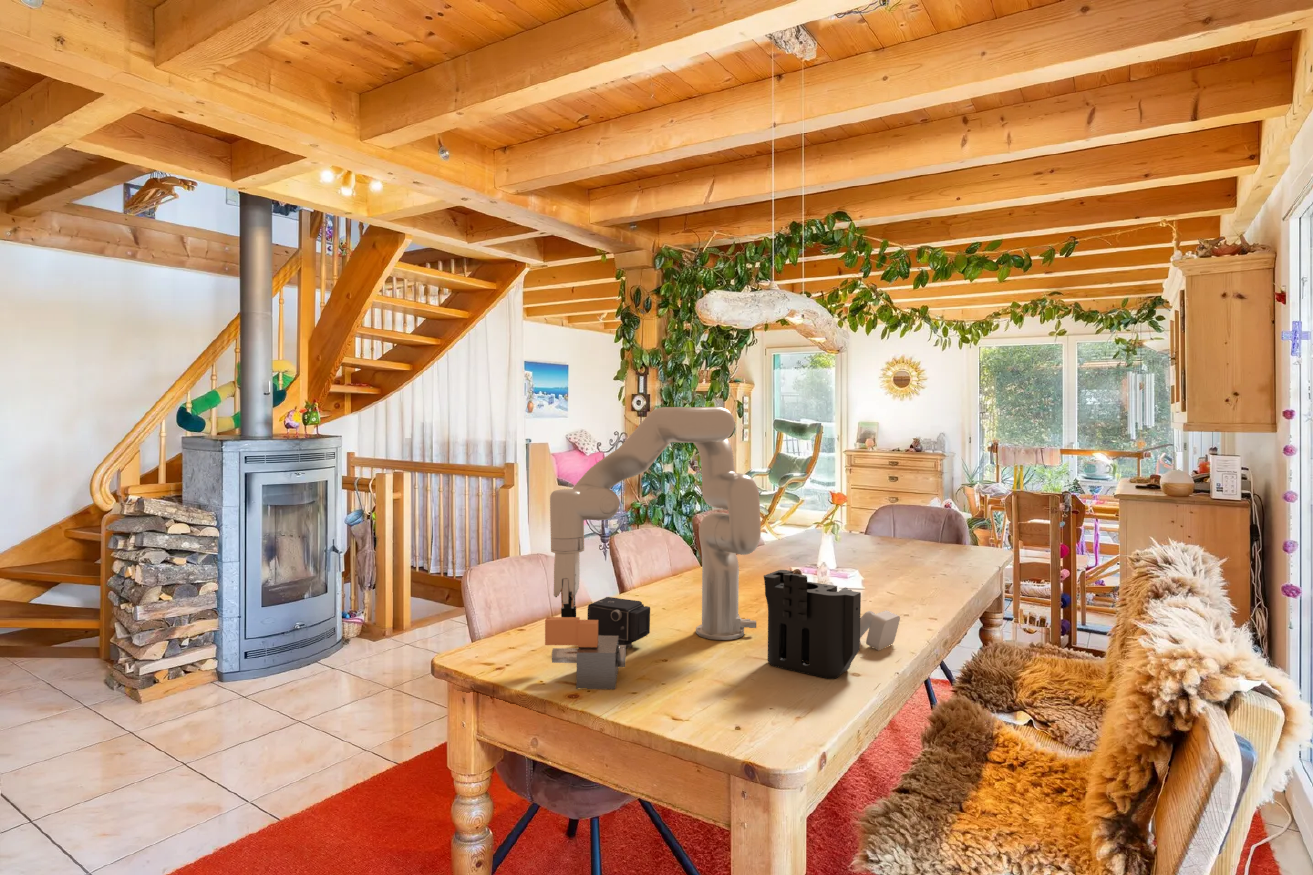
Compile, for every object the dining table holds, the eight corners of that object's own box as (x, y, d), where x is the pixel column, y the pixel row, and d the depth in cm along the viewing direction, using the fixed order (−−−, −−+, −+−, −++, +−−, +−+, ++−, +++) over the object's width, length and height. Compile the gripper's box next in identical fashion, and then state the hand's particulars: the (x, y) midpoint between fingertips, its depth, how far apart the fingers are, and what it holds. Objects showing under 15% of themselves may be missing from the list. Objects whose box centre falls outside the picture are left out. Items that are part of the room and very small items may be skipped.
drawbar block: (618, 669, 164) (618, 635, 164) (615, 689, 152) (615, 652, 152) (582, 669, 164) (582, 635, 164) (576, 688, 152) (576, 652, 152)
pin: (625, 662, 160) (625, 642, 160) (624, 670, 156) (624, 648, 155) (554, 662, 160) (554, 641, 160) (551, 669, 156) (551, 648, 155)
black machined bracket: (780, 653, 176) (781, 562, 175) (864, 672, 163) (865, 573, 163) (756, 667, 166) (757, 570, 166) (843, 687, 154) (845, 583, 153)
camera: (583, 650, 180) (636, 654, 173) (579, 604, 181) (632, 606, 174) (606, 639, 190) (657, 641, 183) (603, 595, 190) (653, 596, 183)
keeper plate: (598, 642, 157) (598, 617, 157) (597, 647, 154) (597, 620, 154) (547, 642, 157) (547, 616, 157) (544, 646, 154) (544, 620, 154)
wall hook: (856, 633, 191) (864, 597, 189) (891, 651, 184) (901, 614, 182) (839, 639, 185) (848, 603, 183) (875, 658, 178) (885, 621, 176)
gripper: (555, 538, 173) (556, 615, 174) (545, 550, 158) (547, 634, 159) (587, 538, 173) (588, 615, 174) (580, 550, 158) (582, 634, 159)
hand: (568, 624), depth 166 cm, fingers closed
